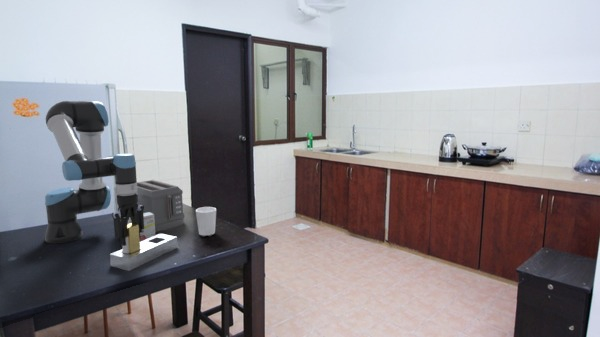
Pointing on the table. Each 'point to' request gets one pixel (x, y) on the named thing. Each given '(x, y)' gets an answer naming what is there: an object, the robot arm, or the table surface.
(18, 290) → the table surface
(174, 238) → the white peg board
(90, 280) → the table surface
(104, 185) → the robot arm
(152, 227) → the ink box
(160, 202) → the toaster
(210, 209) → the cup
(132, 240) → the gold square peg
